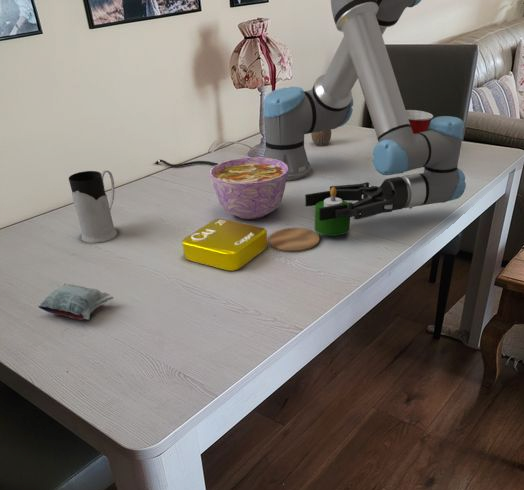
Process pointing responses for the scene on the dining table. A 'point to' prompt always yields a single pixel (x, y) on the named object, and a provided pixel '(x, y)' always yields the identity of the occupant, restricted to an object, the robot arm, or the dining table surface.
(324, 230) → the candle
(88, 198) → the glass holder
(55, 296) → the packaged food
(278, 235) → the cork trivet
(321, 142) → the vase
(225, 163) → the bowl of food
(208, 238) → the element tile
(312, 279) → the dining table surface
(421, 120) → the plastic cup
